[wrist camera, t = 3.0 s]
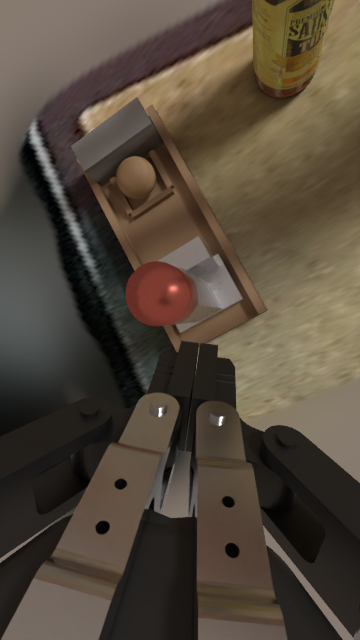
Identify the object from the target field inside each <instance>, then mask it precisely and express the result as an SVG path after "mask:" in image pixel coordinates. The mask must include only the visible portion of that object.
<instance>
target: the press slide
mask: <svg viewBox="0 0 360 640" xmlns="http://www.w3.org/2000/svg"><path fill="white" fill-rule="evenodd" d="M125 296H126V303H127V306H128V308H129V310H130V312H131V313H132V315H133V316H134V317H135V318H136V319H137V320H139V321H140V322H142V323H144V324H146V325H150V326H167V325H176V326H177V328H178V330H179V332H180V333H182V332H185V331H187V330H188V329H190V328H192V327H194V326H196V325H198V324H199V323H201V322H203V321H205V320H207V319H209V318H210V317H212V316H214V315H216V314H218V313H220V312H221V311H223V310H225V309H227V308H229V307H231V306H233V305H234V304H236V303H238V302H240V301H242V300H244V299H243V297H242V295H241V294H240V292H239V290H238V288H237V286H236V284H235V283H234V281H233V279H232V277H231V275H230V274H229V272H228V270H227V268H226V266H225V264H224V263H223V261H222V259H221V257H220V256H219V254H216V255H214V256H213V255H212V253H211V251H210V249H209V247H208V246H207V245H206V244H205V243H204V241H203V240H202V239H201V238H200V237H199V236H198V237H196V238H194V239H193V240H191V241H189V242H188V243H186V244H185V245H183V246H181V247H180V248H178V249H176V250H175V251H173V252H171V253H170V254H168V255H166V256H165V257H163V258H162V259H160V260H158V261H153V262H148V263H145V264H143V265H141V266H140V267H138V268H137V269H136V270H135V271H134V272H133V273H132V275H131V276H130V278H129V280H128V283H127V286H126V292H125Z"/></svg>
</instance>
